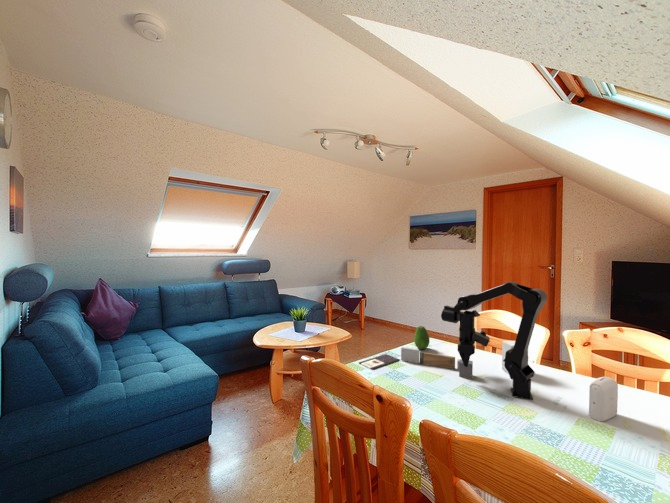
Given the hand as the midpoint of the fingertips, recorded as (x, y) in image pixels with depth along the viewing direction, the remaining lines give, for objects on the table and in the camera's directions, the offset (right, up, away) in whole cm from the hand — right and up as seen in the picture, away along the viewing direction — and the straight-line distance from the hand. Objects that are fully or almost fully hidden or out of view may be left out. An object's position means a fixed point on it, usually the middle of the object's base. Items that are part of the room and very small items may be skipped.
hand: (466, 362), depth 128 cm
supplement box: (+23, -6, +4) cm, 24 cm away
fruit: (-9, -5, +33) cm, 35 cm away
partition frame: (-11, -5, +12) cm, 17 cm away
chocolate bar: (-34, -6, +15) cm, 38 cm away
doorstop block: (0, -6, 0) cm, 6 cm away
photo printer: (+31, -7, -30) cm, 44 cm away
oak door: (-9, -5, +10) cm, 15 cm away
